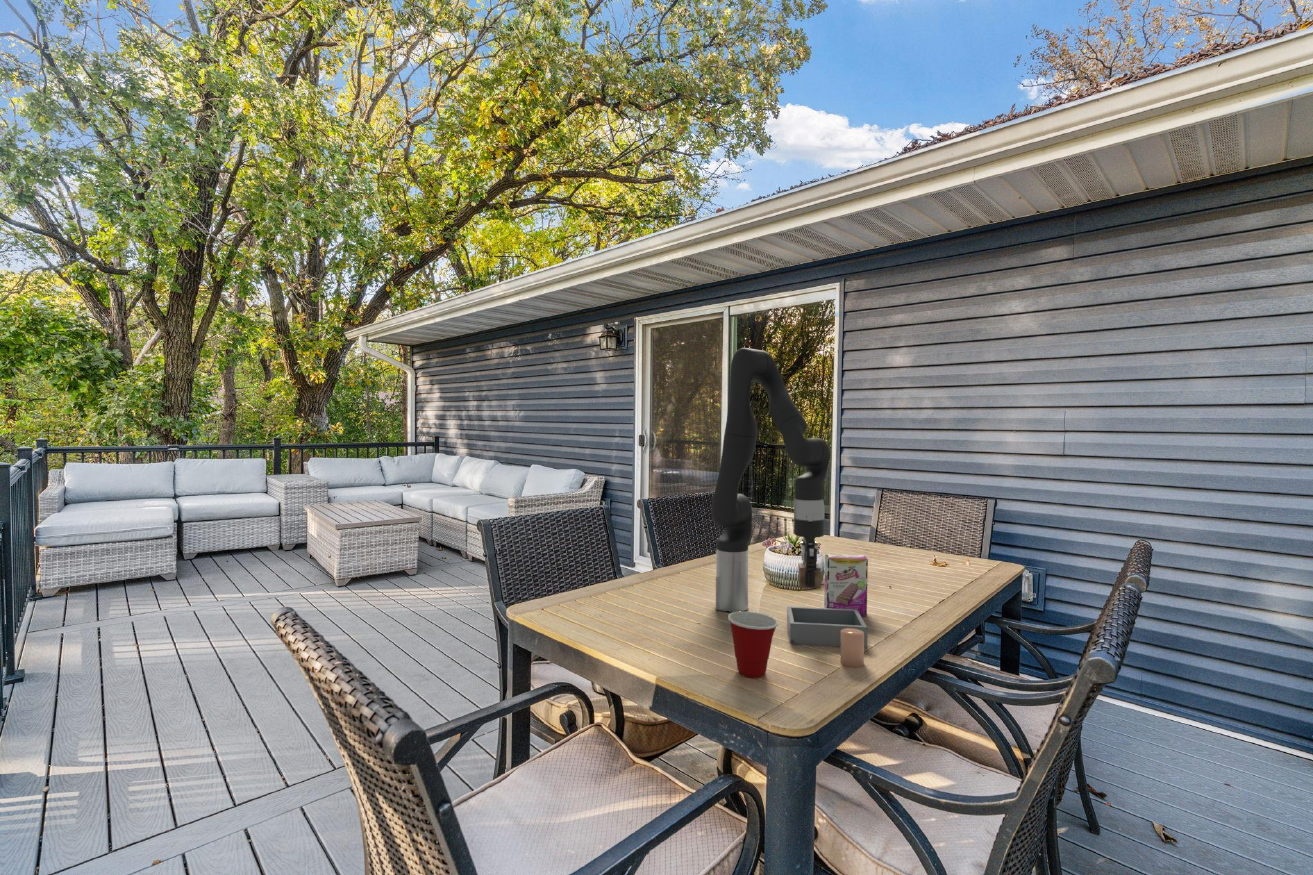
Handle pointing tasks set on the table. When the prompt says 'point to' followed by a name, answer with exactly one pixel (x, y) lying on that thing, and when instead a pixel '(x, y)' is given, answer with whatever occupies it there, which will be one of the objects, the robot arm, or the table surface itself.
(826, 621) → the gray tote
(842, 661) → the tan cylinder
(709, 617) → the table surface
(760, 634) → the plastic cup
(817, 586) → the walnut cube
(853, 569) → the candy bar box
